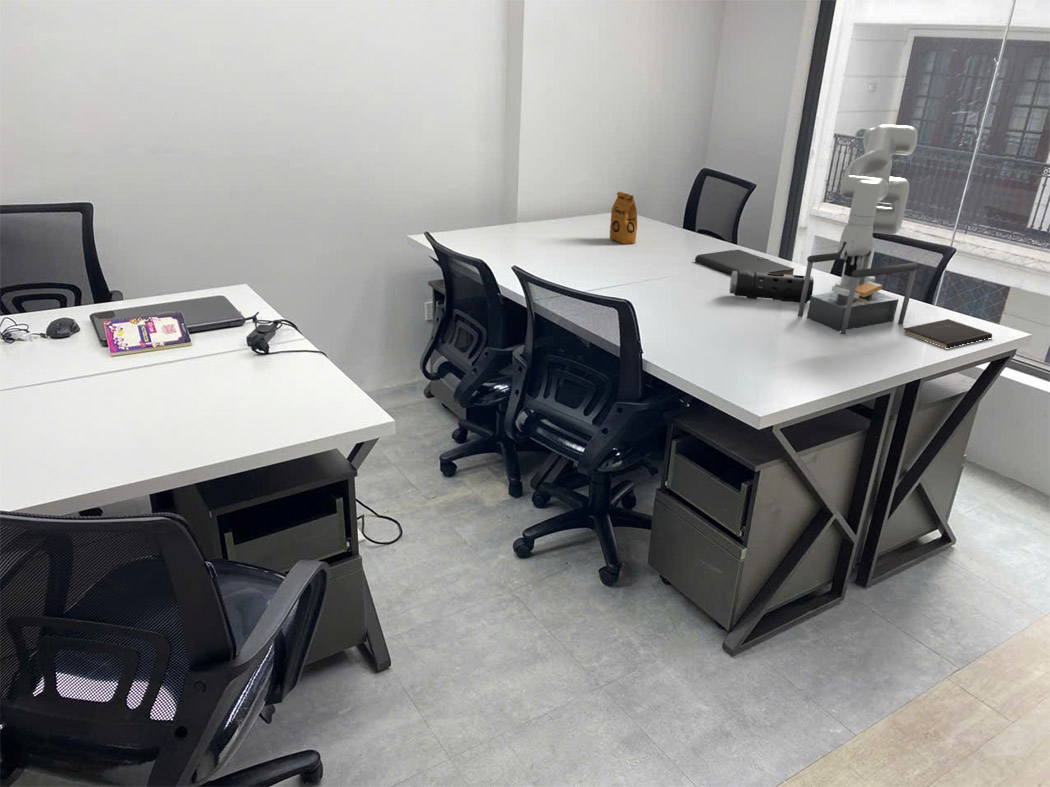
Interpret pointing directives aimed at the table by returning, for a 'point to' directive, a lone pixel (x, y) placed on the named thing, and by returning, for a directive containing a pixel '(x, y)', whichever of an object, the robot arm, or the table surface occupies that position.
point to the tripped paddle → (868, 288)
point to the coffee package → (624, 219)
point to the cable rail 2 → (880, 271)
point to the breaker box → (852, 310)
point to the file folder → (741, 262)
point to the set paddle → (844, 291)
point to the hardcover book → (947, 333)
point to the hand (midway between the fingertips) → (849, 275)
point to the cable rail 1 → (822, 258)
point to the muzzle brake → (769, 286)
